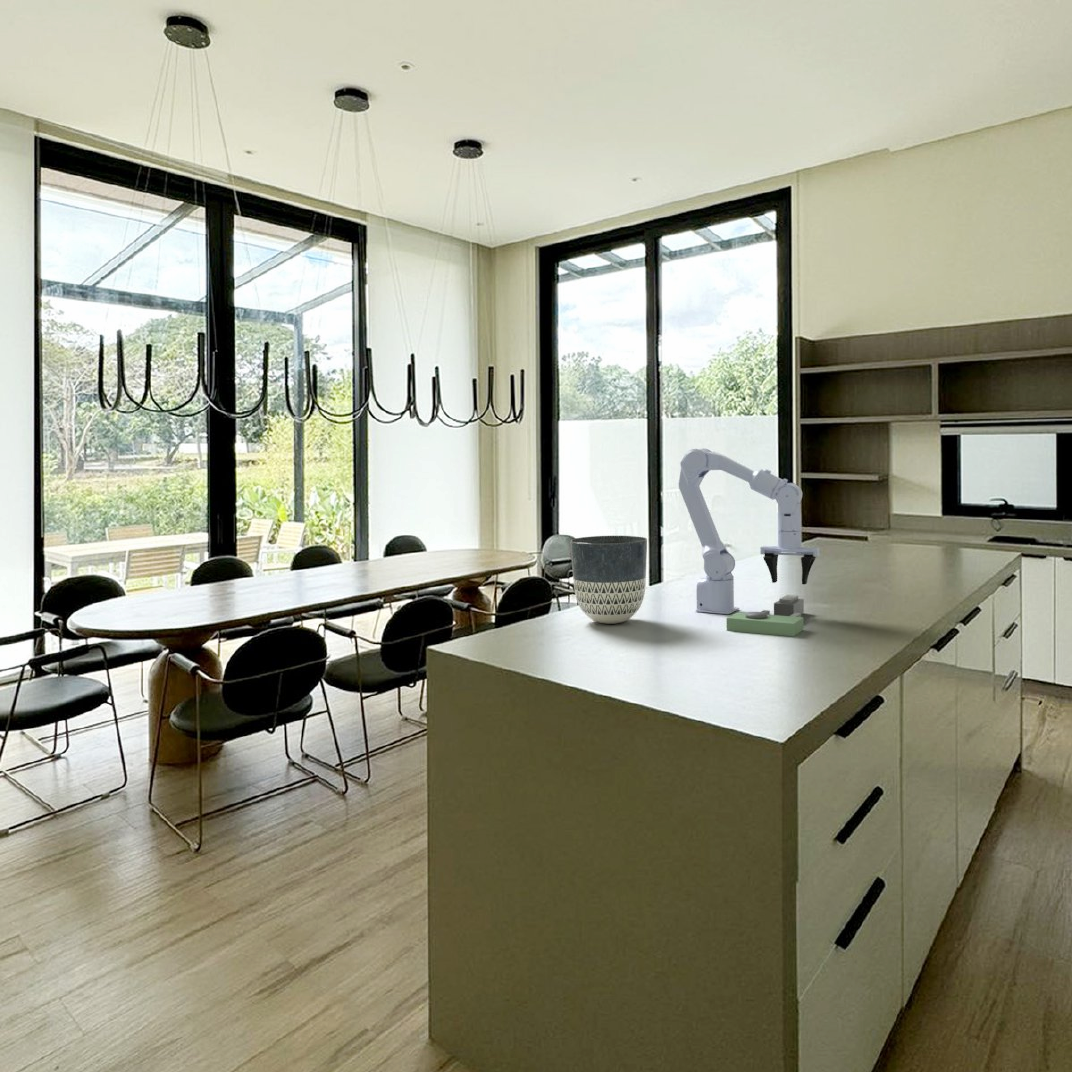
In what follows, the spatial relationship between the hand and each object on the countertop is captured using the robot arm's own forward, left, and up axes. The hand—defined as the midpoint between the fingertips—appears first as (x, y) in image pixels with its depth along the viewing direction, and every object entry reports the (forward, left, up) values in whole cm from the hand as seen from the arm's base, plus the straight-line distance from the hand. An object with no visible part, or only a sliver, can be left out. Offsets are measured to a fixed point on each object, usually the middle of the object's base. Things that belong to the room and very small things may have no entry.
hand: (789, 583), depth 214 cm
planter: (-38, -27, -9) cm, 47 cm away
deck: (0, -15, -8) cm, 17 cm away
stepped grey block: (0, 0, -9) cm, 9 cm away
